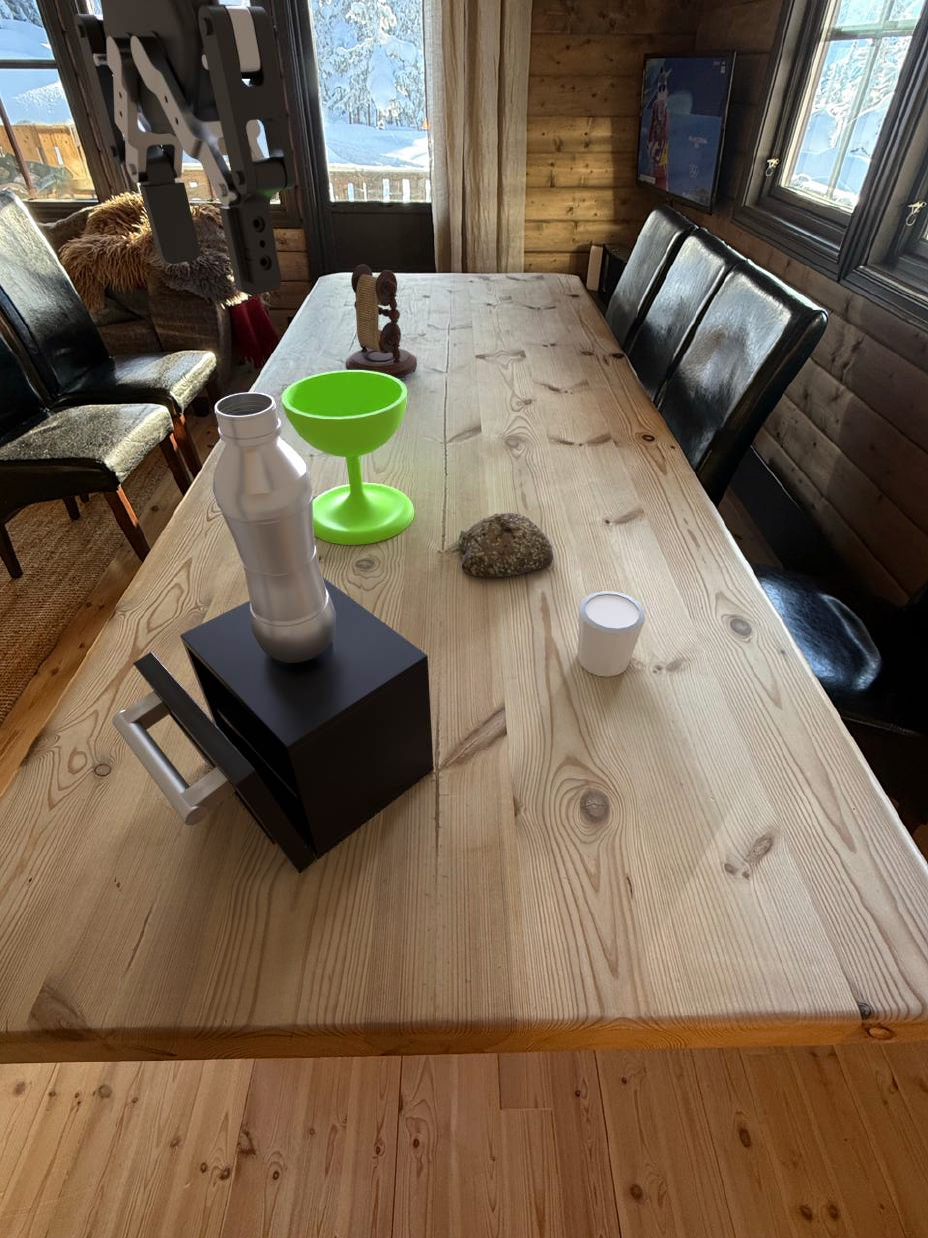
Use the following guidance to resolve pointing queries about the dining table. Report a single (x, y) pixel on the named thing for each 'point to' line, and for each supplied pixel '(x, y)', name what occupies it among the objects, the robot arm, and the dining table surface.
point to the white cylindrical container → (608, 632)
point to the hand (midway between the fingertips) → (218, 275)
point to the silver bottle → (272, 529)
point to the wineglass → (351, 450)
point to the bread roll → (504, 546)
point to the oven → (321, 716)
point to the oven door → (217, 752)
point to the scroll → (374, 342)
